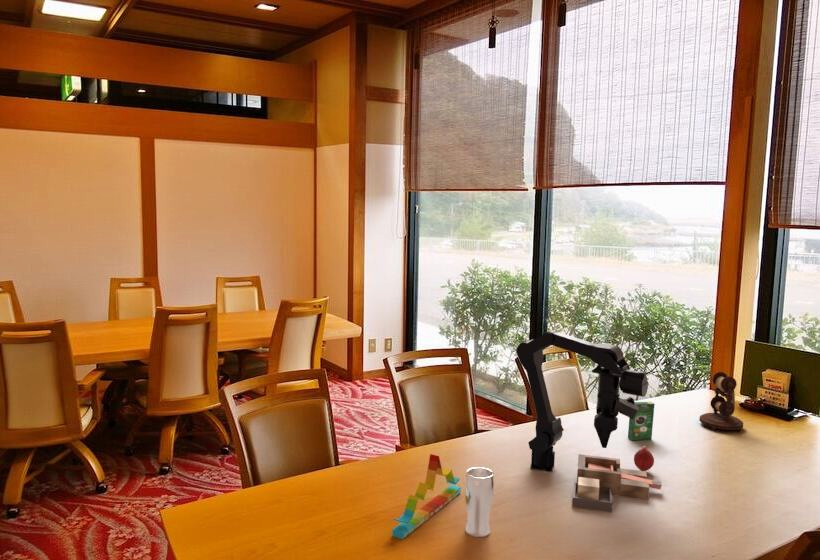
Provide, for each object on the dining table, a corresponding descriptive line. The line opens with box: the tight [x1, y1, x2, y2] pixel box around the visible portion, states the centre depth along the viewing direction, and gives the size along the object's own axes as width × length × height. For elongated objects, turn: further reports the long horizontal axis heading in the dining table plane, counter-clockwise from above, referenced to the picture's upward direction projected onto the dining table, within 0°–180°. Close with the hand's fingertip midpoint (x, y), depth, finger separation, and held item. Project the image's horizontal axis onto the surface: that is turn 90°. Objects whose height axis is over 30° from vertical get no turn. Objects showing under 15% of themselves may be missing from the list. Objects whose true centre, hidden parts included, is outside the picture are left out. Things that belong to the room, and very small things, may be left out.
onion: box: [633, 445, 655, 472], centre depth 198 cm, size 6×6×8 cm
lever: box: [588, 463, 663, 490], centre depth 186 cm, size 20×7×2 cm, turn 74°
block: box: [577, 477, 599, 500], centre depth 178 cm, size 6×6×4 cm
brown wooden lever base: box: [576, 453, 650, 501], centre depth 187 cm, size 19×12×6 cm, turn 74°
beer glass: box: [464, 466, 495, 538], centre depth 159 cm, size 7×7×15 cm
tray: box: [571, 481, 614, 513], centre depth 177 cm, size 10×10×3 cm
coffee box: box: [627, 401, 656, 441], centre depth 226 cm, size 8×3×13 cm, turn 103°
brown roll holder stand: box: [698, 371, 744, 432], centre depth 241 cm, size 15×15×20 cm
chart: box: [391, 453, 462, 540], centre depth 168 cm, size 30×3×15 cm, turn 149°
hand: (604, 442), depth 188 cm, fingers open, 9 cm apart
